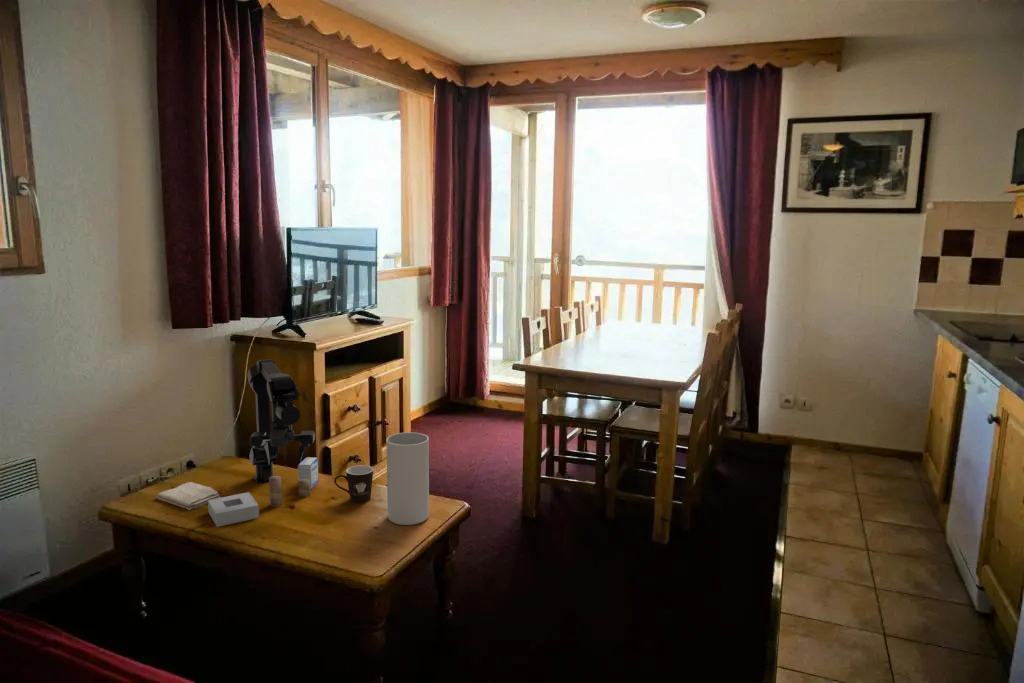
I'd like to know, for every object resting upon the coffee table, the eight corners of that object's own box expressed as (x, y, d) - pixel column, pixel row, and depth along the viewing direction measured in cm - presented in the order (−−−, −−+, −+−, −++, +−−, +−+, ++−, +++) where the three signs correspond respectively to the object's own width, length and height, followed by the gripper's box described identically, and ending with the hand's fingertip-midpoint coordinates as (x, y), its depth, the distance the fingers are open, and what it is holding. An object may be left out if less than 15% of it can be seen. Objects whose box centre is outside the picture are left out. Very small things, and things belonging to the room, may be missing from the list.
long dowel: (268, 504, 216) (267, 477, 214) (280, 501, 218) (279, 474, 216) (272, 508, 213) (270, 480, 211) (283, 505, 215) (282, 478, 213)
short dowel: (297, 494, 224) (296, 480, 223) (308, 492, 226) (307, 478, 225) (300, 498, 221) (300, 483, 220) (311, 495, 223) (311, 481, 222)
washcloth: (190, 512, 210) (190, 503, 209) (154, 500, 218) (154, 491, 218) (223, 499, 220) (223, 490, 219) (188, 488, 229) (187, 479, 228)
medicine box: (311, 489, 228) (310, 465, 227) (298, 489, 228) (297, 464, 227) (318, 481, 236) (318, 457, 234) (306, 480, 236) (305, 456, 234)
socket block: (208, 512, 208) (207, 500, 208) (249, 504, 215) (248, 492, 215) (216, 526, 199) (216, 513, 198) (259, 517, 205) (258, 505, 205)
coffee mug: (378, 495, 224) (377, 466, 222) (368, 505, 216) (367, 475, 214) (344, 492, 226) (344, 463, 224) (333, 502, 217) (332, 472, 216)
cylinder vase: (435, 511, 212) (434, 434, 208) (419, 528, 200) (418, 447, 196) (398, 507, 215) (397, 430, 211) (380, 523, 203) (379, 442, 199)
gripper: (244, 424, 200) (246, 475, 203) (309, 423, 203) (311, 472, 206) (252, 414, 211) (254, 462, 214) (314, 412, 214) (315, 460, 217)
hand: (283, 464), depth 212 cm, fingers open, 9 cm apart
